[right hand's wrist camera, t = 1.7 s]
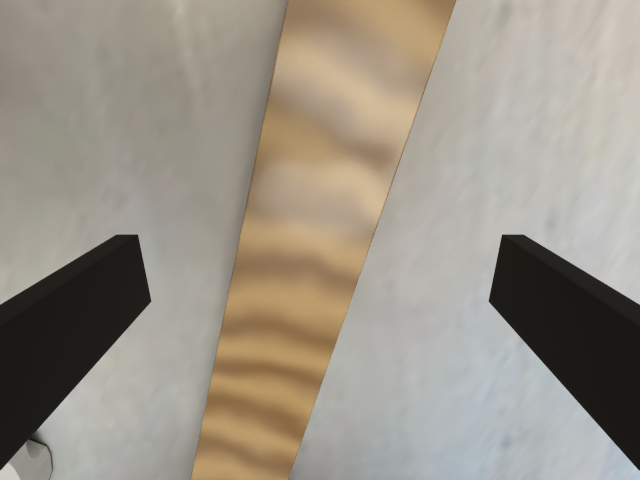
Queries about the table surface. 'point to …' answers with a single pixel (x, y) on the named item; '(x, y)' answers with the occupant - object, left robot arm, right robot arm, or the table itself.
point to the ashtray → (28, 463)
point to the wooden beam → (311, 218)
